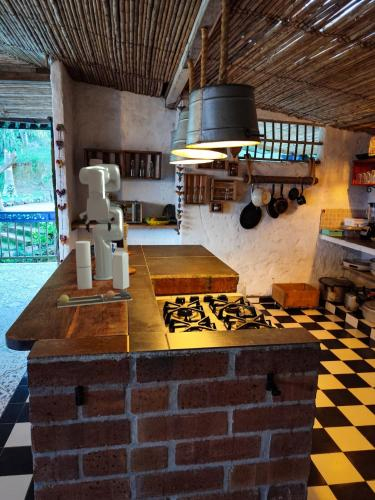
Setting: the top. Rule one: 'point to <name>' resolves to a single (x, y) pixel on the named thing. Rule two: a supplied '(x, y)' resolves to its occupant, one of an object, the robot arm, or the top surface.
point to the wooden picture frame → (81, 301)
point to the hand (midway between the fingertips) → (98, 231)
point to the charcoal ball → (123, 293)
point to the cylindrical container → (83, 265)
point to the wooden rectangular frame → (116, 298)
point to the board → (93, 299)
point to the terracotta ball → (110, 294)
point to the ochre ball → (64, 299)
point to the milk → (120, 269)
